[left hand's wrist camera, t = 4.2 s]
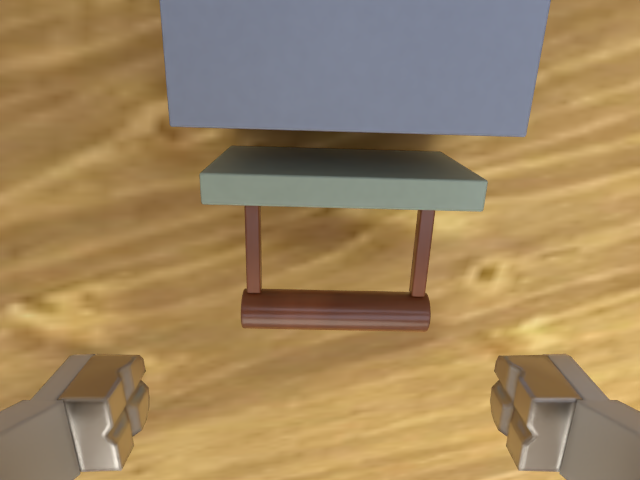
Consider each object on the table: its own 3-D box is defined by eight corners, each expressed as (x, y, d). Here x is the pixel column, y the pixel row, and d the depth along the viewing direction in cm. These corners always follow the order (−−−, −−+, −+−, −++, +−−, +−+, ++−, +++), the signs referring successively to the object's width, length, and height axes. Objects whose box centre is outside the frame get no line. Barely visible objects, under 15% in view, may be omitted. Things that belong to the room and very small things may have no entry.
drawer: (425, 284, 25) (461, 353, 19) (235, 280, 25) (209, 348, 19) (499, -324, 17) (607, -557, 10) (212, -339, 16) (151, -585, 10)
